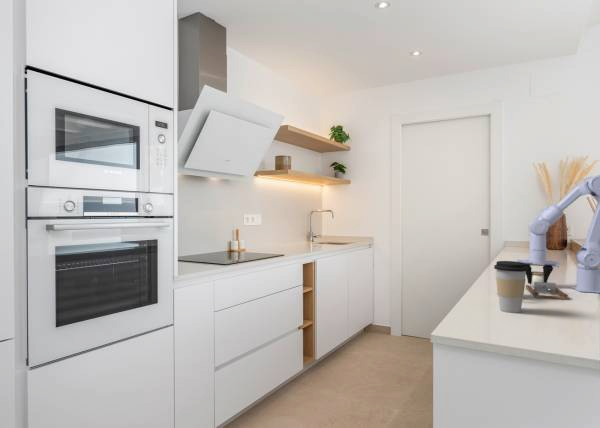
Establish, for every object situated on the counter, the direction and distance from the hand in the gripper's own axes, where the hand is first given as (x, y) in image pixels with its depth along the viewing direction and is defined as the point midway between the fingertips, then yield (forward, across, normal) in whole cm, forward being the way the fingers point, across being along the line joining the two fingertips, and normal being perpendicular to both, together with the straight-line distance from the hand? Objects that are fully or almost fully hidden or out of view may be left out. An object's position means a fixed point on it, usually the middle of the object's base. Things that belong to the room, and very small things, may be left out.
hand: (537, 283), depth 162 cm
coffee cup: (+2, +17, +43) cm, 46 cm away
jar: (+1, 0, 0) cm, 1 cm away
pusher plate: (+1, 0, +15) cm, 15 cm away
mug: (+2, +14, +25) cm, 29 cm away
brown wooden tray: (+1, 0, +12) cm, 13 cm away
